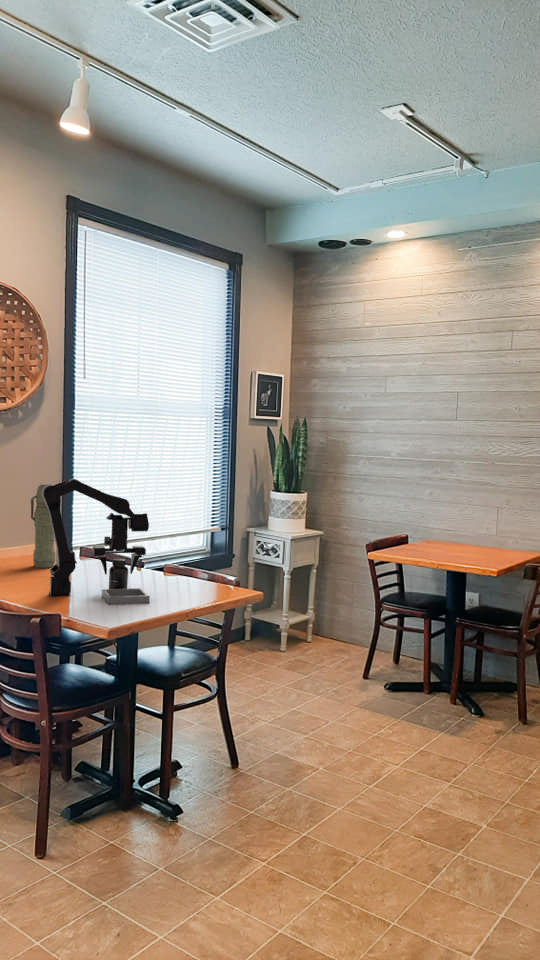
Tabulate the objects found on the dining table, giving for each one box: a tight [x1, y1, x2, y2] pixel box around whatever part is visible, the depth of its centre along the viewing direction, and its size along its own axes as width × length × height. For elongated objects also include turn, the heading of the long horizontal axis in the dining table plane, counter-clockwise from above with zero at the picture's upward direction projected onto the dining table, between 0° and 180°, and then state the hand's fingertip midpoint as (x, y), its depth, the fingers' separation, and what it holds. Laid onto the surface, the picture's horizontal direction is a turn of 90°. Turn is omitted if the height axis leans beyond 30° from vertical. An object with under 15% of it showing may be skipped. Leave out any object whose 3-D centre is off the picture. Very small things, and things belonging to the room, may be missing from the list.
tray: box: [101, 587, 151, 606], centre depth 271 cm, size 14×14×2 cm
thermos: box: [30, 484, 56, 569], centre depth 330 cm, size 9×12×35 cm
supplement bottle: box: [108, 558, 129, 589], centre depth 284 cm, size 7×7×12 cm
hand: (118, 574), depth 284 cm, fingers open, 9 cm apart
